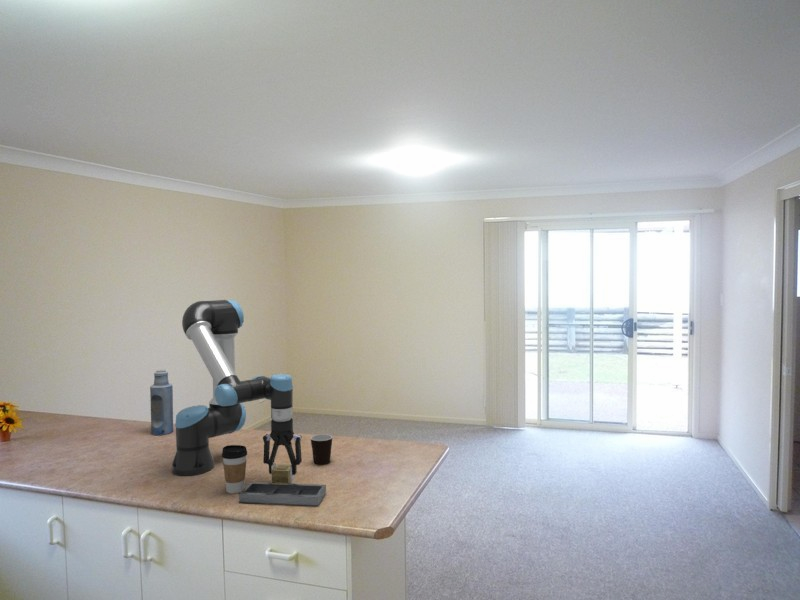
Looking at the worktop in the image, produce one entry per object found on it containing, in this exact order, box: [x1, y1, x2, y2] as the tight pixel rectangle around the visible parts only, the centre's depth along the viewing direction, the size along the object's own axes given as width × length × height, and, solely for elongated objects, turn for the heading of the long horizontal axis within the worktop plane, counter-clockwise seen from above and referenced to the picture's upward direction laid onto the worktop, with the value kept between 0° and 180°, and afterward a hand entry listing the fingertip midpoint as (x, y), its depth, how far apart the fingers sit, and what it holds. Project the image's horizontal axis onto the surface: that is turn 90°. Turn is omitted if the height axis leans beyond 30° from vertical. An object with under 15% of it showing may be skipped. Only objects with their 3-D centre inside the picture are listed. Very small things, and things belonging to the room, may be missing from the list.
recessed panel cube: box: [271, 463, 291, 484], centre depth 187 cm, size 6×6×6 cm
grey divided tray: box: [238, 481, 327, 507], centre depth 176 cm, size 26×10×3 cm, turn 83°
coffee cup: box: [221, 444, 248, 494], centre depth 183 cm, size 8×8×15 cm
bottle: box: [149, 369, 174, 436], centre depth 251 cm, size 10×10×30 cm
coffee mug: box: [310, 433, 333, 466], centre depth 211 cm, size 12×9×10 cm
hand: (282, 482), depth 187 cm, fingers closed on recessed panel cube, 6 cm apart
